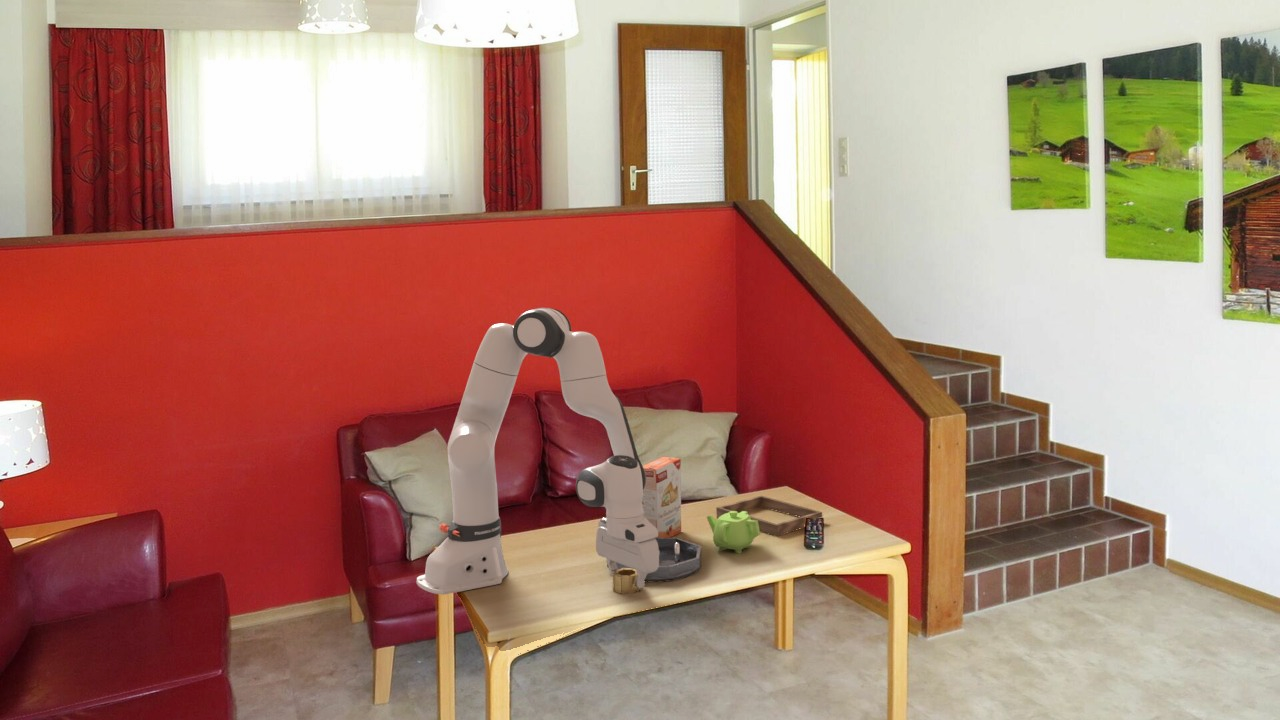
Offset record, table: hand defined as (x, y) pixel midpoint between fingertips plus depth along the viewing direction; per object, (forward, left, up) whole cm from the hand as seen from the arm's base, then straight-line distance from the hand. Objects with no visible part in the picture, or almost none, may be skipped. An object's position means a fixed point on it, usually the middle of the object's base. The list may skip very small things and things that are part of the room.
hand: (627, 581), depth 258 cm
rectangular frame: (+63, +16, -2) cm, 65 cm away
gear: (0, 0, -2) cm, 2 cm away
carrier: (+15, +8, -2) cm, 17 cm away
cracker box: (+31, +25, -2) cm, 40 cm away
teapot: (+39, +5, -2) cm, 39 cm away
